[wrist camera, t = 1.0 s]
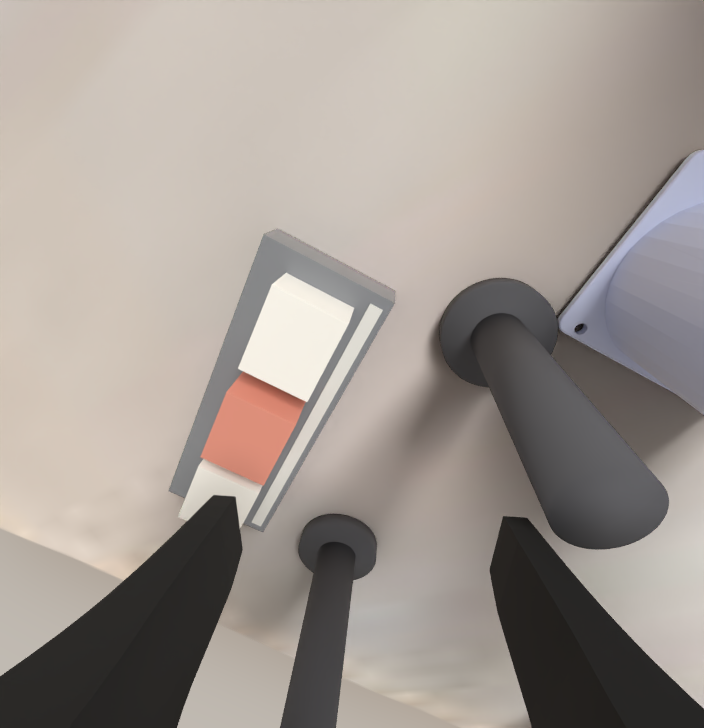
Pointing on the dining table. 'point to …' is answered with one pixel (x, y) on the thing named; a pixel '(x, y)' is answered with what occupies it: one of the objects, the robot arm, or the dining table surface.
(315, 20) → the dining table surface
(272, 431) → the block
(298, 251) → the breaker panel
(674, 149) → the dining table surface
